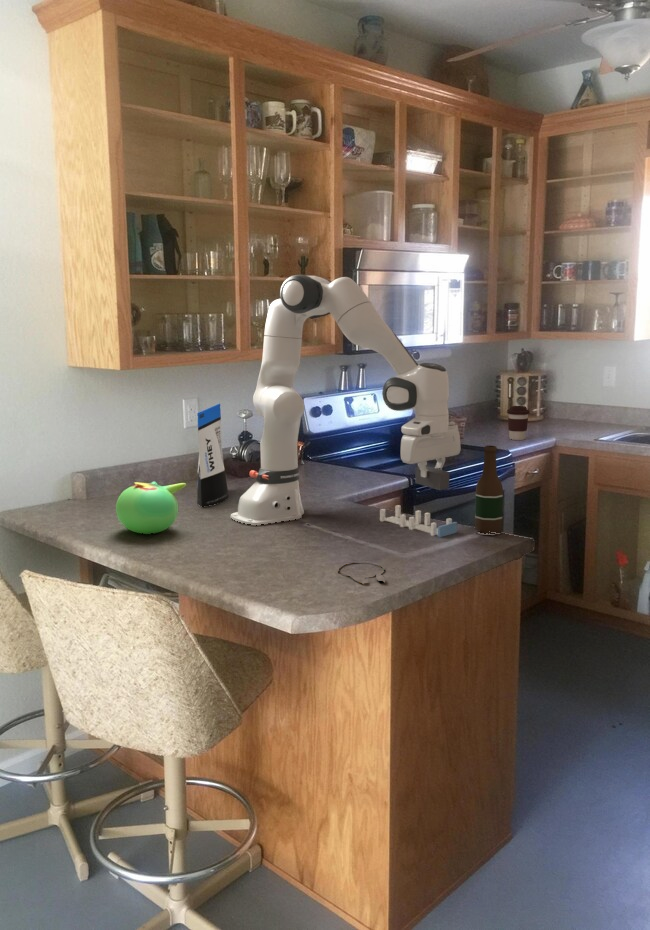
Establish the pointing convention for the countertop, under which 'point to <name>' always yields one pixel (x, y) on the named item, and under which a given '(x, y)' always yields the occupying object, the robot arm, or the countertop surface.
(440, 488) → the gray rectangular block
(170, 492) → the round green spouted pot
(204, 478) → the protein powder
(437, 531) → the white peg rack
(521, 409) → the coffee cup
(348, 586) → the countertop surface
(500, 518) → the beer bottle
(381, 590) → the countertop surface
